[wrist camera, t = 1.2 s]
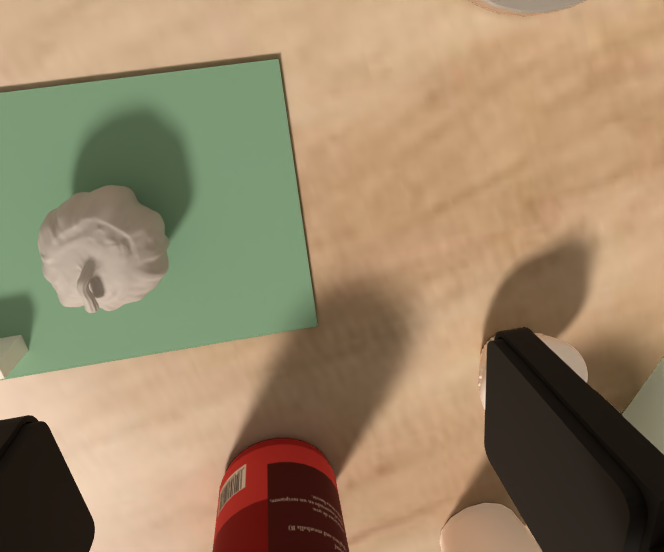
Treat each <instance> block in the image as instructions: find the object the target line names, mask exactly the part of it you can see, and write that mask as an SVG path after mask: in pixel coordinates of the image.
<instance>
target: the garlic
mask: <svg viewBox="0 0 664 552" xmlns="http://www.w3.org/2000/svg"><path fill="white" fill-rule="evenodd" d="M37 244H38V248H39V252H40V256H41V259H42V272H43V275H44V277H45V278H46V280H47V281H49V282H50V283H51V284H52V286H53V288H54V289H55V290H56V292H57V295H58V298H59V301H60V303H61V304H62V305H63V306H65V307H81V306H84V307H85V310H86V311H87V312H88V313H95V312H97V311H98V310H99V308H102V309H104V310H106V311H113V310H116V309H118V308H120V307H121V306H123V305H124V304H127V303H131V302H136V301H139V300H141V299H143V298H144V297H145V296H146V295H147V294H148V292H150V291H151V290H153V289H154V288H155V287H156V286H157V285H158V284H159V282H160V280H161V279H162V278H163V277H164V276H165V274H166V273H167V271H168V267H169V260H168V256H167V249H168V246H169V244H170V240H169V238H168V237H167V236H166V235H165V225H164V222H163V219H162V217H161V215H160V214H159V213H158V212H156V211H153V210H151V209H150V208H148V207H146V206H144V205H142V204H140V203H139V202H138V200H137V198H136V196H135V193H134V192H133V191H132V190H131V189H130V188H128V187H125V186H116V185H106V186H103V187H101V188H98V189H96V190H94V191H92V192H90V193H89V192H80V193H77V194H74V195H73V196H71V197H70V198H69V199H68V200H67V201H65V202H64V203H62V204H61V205H60V206H59V207H58V208H56V209H54V210H52V211H50V212H49V213H48V214H47V216H46V217H45V219H44V221H43V223H42V224H41V226H40V229H39V236H38V240H37Z"/></svg>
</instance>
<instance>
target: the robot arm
mask: <svg viewBox="0 0 664 552" xmlns="http://www.w3.org/2000/svg"><path fill="white" fill-rule="evenodd" d="M469 1H471V2H472V3H474V4H475V5H477V6H480V7H483V8H485V9H488V10H491V11H494V12H496V13H499V14H507V15H516V16H531V15H539V14H548V13H552V12H555V11H559V10H563V9H566V8H571V7H573V6H575V5H577V4H579V3H582V2H584V1H586V0H469ZM484 444H485V450H486V454H487V457H488V459H489V461H490V463H491V465H492V467H493V468H494V470H495V472H496V473H497V475H498V477H499V478H500V480H501V482H502V484H503V485H504V487H505V489H506V490H507V492H508V494H509V495H510V497H511V499H512V501H513V502H514V504H515V506H516V507H517V509H518V511H519V512H520V514H521V516H522V518H523V519H524V521H525V523H526V524H527V526H528V528H529V529H530V531H531V533H532V535H533V536H534V538H535V540H536V541H537V543H538V545H539V547H540V548H541V550H542V552H664V454H662V453H661V452H660V451H659V450H658V449H657V448H656V447H655V446H654V445H653V444H652V443H651V442H650V441H649V440H648V439H647V438H646V437H644V436H643V435H642V434H641V433H640V432H639V431H638V430H637V429H636V428H635V427H634V426H633V425H632V424H631V423H630V422H629V421H627V420H626V419H625V418H624V417H623V416H622V415H621V414H620V413H619V412H618V411H617V410H616V409H615V408H614V407H613V406H612V405H611V404H609V403H608V402H607V401H606V400H605V399H604V398H603V397H602V396H601V395H600V394H599V393H598V392H596V391H595V390H594V389H593V388H591V387H590V386H589V385H588V384H587V383H586V382H585V381H584V380H583V379H582V378H581V377H580V376H579V375H578V374H577V373H576V372H575V371H573V370H572V369H571V368H570V367H569V366H568V365H567V364H566V363H565V362H564V361H563V360H562V359H561V358H560V357H559V356H558V355H557V354H556V353H554V352H553V351H552V350H551V349H550V348H549V347H548V346H547V345H546V344H545V343H544V342H543V341H542V340H541V339H540V338H539V337H538V336H536V335H535V334H534V333H533V332H532V331H531V330H530V329H528V328H526V327H523V328H517V329H511V330H506V331H500V332H497V333H496V335H495V337H494V340H492V341H489V342H488V344H487V359H486V398H485V436H484ZM94 533H95V526H94V521H93V518H92V516H91V514H90V512H89V510H88V508H87V506H86V504H85V501H84V499H83V497H82V495H81V493H80V491H79V489H78V487H77V485H76V483H75V481H74V479H73V476H72V474H71V472H70V470H69V468H68V466H67V464H66V462H65V460H64V458H63V456H62V453H61V451H60V449H59V447H58V445H57V443H56V441H55V439H54V437H53V435H52V433H51V431H50V428H49V427H48V425H47V424H46V423H45V422H42V421H38V420H37V419H36V418H35V417H34V416H29V415H28V416H22V417H17V418H11V419H5V420H0V552H89V551H90V548H91V545H92V543H93V539H94Z"/></svg>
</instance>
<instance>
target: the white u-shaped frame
mask: <svg viewBox="0 0 664 552" xmlns="http://www.w3.org/2000/svg"><path fill="white" fill-rule="evenodd" d="M28 351H29V350H28V348H27V346H26V344H25V341H24V339H23V337H22V335H16V336H10V337H4V338H0V379H4V378H5V377H6V376H7V375H8V374H9V373H10V372H11V370H12V369H13V368H14V367H15V366H16V365H17V364H18V362H19V361H20V360H21V359H22V358H23V357H24V355H25V354H26V353H27V352H28Z"/></svg>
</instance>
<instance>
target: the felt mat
mask: <svg viewBox="0 0 664 552" xmlns="http://www.w3.org/2000/svg"><path fill="white" fill-rule="evenodd" d="M106 185H116V186H125V187H128V188H130V189H131V190H132V191H133V192H134V193H135V196H136V198H137V200H138V202H139V203H140V204H142V205H144V206H146V207H148V208H150V209H151V210H153V211H156V212H158V213H159V214H160V215H161V217H162V219H163V222H164V225H165V235H166V236H167V237H168V238H169V240H170V244H169V246H168V249H167V256H168V260H169V267H168V271H167V273H166V274H165V276H164V277H163V278H162V279H161V280H160V282H159V284H158V285H157V286H156V287H155V288H154V289H153V290H151V291H150V292H148V294H147V295H146V296H145V297H144V298H143V299H141V300H139V301H136V302H131V303H127V304H124V305H123V306H121V307H120V308H118V309H116V310H113V311H106V310H104V309H102V308H99V310H98V311H97V312H95V313H88V312H87V311H86V310H85V307H84V306H81V307H65V306H63V305H62V304H61V303H60V301H59V298H58V295H57V292H56V290H55V289H54V288H53V286H52V284H51V283H50V282H49V281H47V280H46V278H45V277H44V275H43V272H42V259H41V256H40V252H39V248H38V244H37V240H38V236H39V229H40V226H41V224H42V223H43V221H44V219H45V217H46V216H47V214H48V213H49V212H50V211H52V210H54V209H56V208H58V207H59V206H60V205H61V204H62V203H64V202H65V201H67V200H68V199H69V198H70V197H71V196H73V195H74V194H77V193H80V192H89V193H90V192H92V191H94V190H96V189H98V188H101V187H103V186H106ZM317 326H318V324H317V318H316V311H315V304H314V297H313V290H312V284H311V277H310V270H309V263H308V256H307V249H306V243H305V236H304V229H303V222H302V215H301V209H300V202H299V195H298V188H297V181H296V174H295V168H294V161H293V154H292V147H291V140H290V134H289V127H288V120H287V113H286V106H285V99H284V93H283V86H282V79H281V72H280V65H279V59H273V60H264V61H256V62H248V63H240V64H232V65H223V66H215V67H207V68H199V69H191V70H183V71H174V72H166V73H158V74H150V75H142V76H134V77H125V78H117V79H109V80H101V81H93V82H84V83H76V84H68V85H60V86H52V87H44V88H35V89H27V90H19V91H11V92H3V93H0V338H4V337H10V336H16V335H22V337H23V339H24V341H25V344H26V346H27V348H28V350H29V351H28V352H27V353H26V354H25V355H24V357H23V358H22V359H21V360H20V361H19V362H18V364H17V365H16V366H15V367H14V368H13V369H12V370H11V372H10V373H9V374H8V375H7V376H6V377H5V378H4V379H10V378H16V377H22V376H28V375H33V374H39V373H45V372H51V371H57V370H63V369H69V368H75V367H81V366H87V365H92V364H98V363H104V362H110V361H116V360H122V359H128V358H134V357H140V356H146V355H151V354H157V353H163V352H169V351H175V350H181V349H187V348H193V347H199V346H205V345H210V344H216V343H222V342H228V341H234V340H240V339H246V338H252V337H258V336H264V335H269V334H275V333H281V332H287V331H293V330H299V329H305V328H311V327H317ZM4 379H0V380H4Z"/></svg>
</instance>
